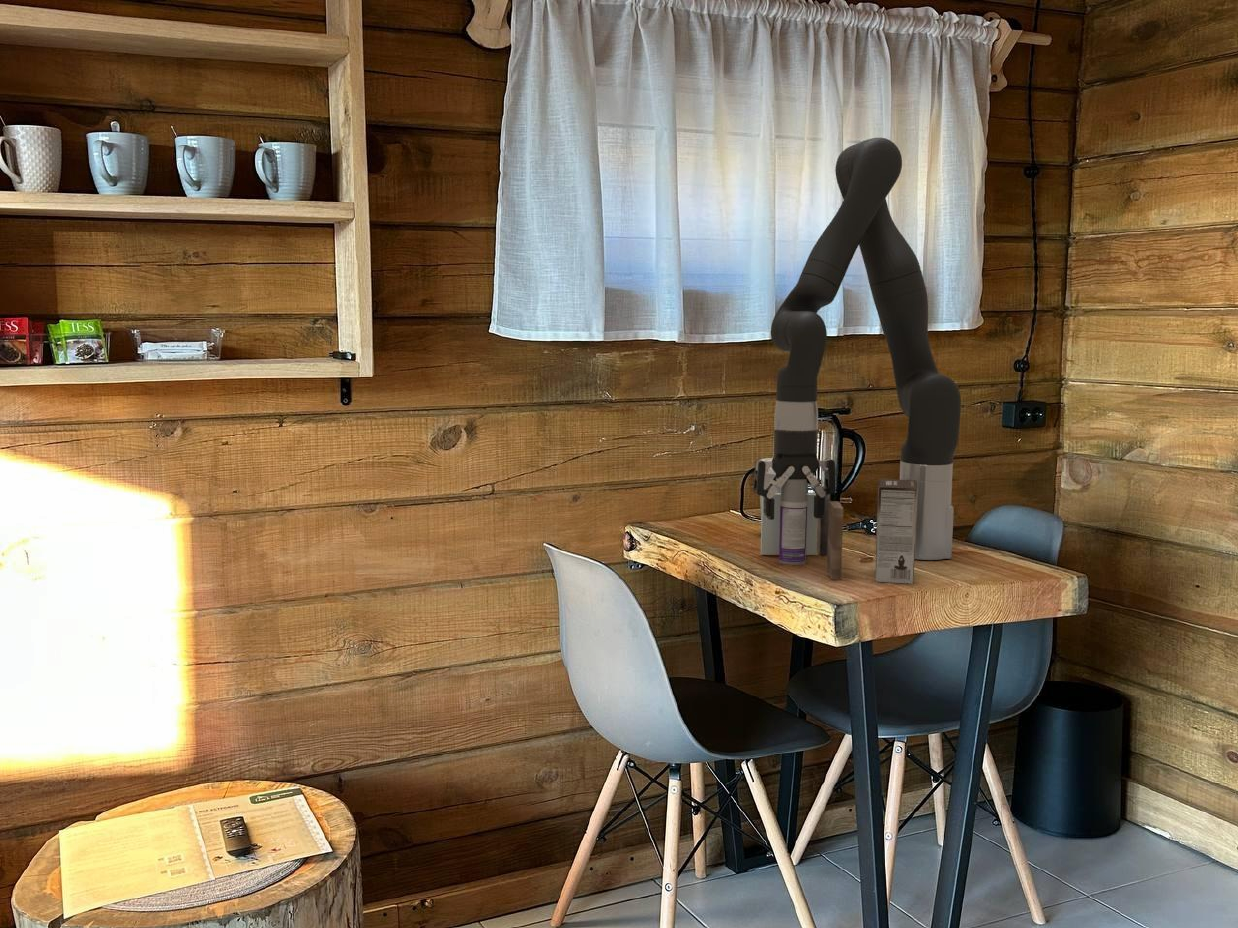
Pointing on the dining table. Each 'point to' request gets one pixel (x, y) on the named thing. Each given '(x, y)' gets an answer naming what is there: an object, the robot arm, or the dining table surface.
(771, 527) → the door leaf
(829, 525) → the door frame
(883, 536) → the coffee box
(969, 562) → the dining table surface
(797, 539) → the container
